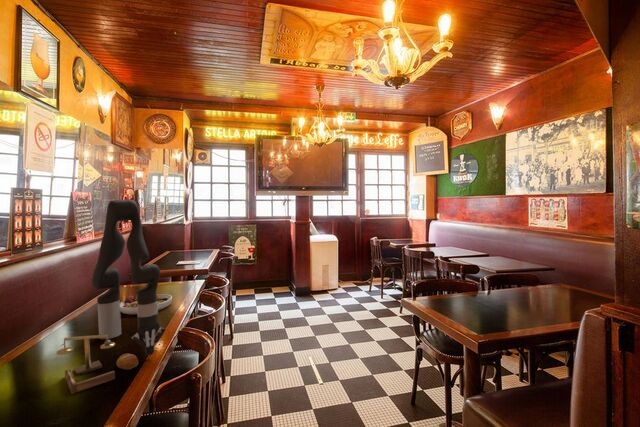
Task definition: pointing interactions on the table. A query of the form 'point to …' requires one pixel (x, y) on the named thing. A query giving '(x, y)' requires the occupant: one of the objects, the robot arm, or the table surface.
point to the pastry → (127, 361)
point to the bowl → (131, 304)
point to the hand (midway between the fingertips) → (149, 354)
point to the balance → (86, 353)
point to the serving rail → (87, 381)
